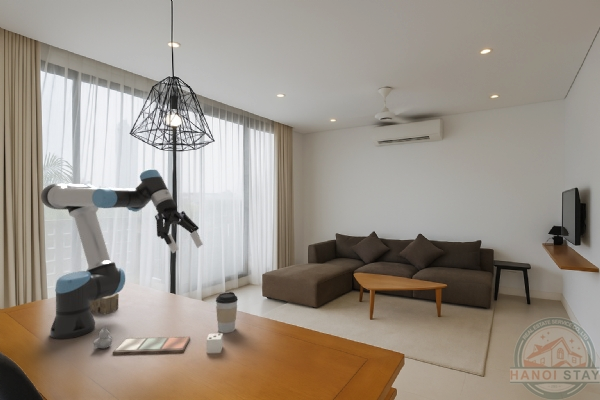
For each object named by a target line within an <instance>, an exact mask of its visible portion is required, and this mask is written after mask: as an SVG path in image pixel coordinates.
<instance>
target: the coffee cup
mask: <svg viewBox="0 0 600 400" xmlns="http://www.w3.org/2000/svg"><path fill="white" fill-rule="evenodd" d="M215 302H216V303H215V304H216V307H215V309H216V320H217V321H216V322H217V331H218V332H219V333H223V334H229V333H232V332H234V331H235V330H236V320H237V310H238V296H237V295H235V292H232V291H229V292H222V293H220V294H218V295H217V296H216V297H215Z"/></svg>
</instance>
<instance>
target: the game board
mask: <svg viewBox="0 0 600 400" xmlns="http://www.w3.org/2000/svg"><path fill="white" fill-rule="evenodd" d="M190 340H191V336H167V337H165V336H163V337H162V336H161V337H131V338H130V337H127V338H125V339H123V341H122V342H121V343H120V344H119V345H117V347H116V348H115V349H114V350H113V351H112V355H114V356H117V355H146V354H147V355H148V354H152V355H153V354H177V353H178V354H181V353H184V351H185V349H186V347H188V346H187V345H188V344H189V342H190Z"/></svg>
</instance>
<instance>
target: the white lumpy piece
mask: <svg viewBox="0 0 600 400" xmlns="http://www.w3.org/2000/svg"><path fill="white" fill-rule="evenodd" d="M110 333H111V332H110V331H109V330H108V329H107V328H106V326H104V327H102V328H101V330H100V331H99V333H98V338H97V339H95V340H94V341H93V342H92V343H93V348H94V349H96V348H99V349H107V348H109V347H110V346H111V345H112V342H113V338H112V337H111V336H110Z"/></svg>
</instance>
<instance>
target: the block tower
mask: <svg viewBox="0 0 600 400" xmlns="http://www.w3.org/2000/svg"><path fill="white" fill-rule="evenodd" d="M119 297H120V296H119V293H116V294H113V295H111V296H107V297H103V298H100V299H96V300H93V301H90V310H91V311H93V312H96V313H100V314H104V315H107V314H110V313H112V312H115V311H116V310H118V309H119Z"/></svg>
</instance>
